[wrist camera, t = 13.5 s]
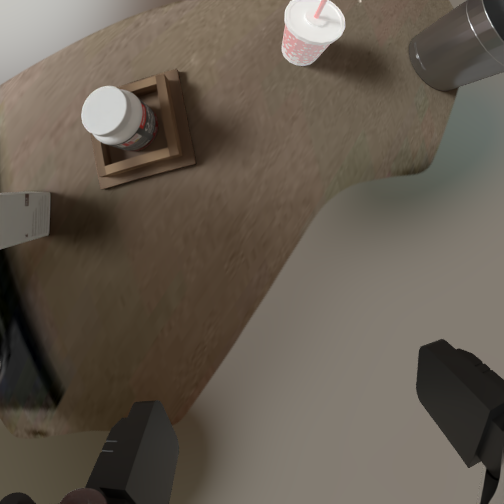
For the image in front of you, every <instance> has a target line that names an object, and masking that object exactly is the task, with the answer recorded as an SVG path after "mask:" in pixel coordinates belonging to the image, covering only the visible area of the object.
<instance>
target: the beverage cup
mask: <svg viewBox="0 0 504 504" xmlns="http://www.w3.org/2000/svg"><path fill="white" fill-rule="evenodd" d="M344 29H345V18H344V16H343V14H342V12H341V10H340V9H339V8H338V7H337V6H336V5H335V4H333V3H332V2H331V1H329V0H292V1H290V3H289V4H288V6H287V8H286V9H285V29H284V35H283V42H282V53H283V55H284V57H285V58H286V59H287V60H288V61H289V62H290V63H293V64H295V65H299V66H306V65H310V64H311V63H313V62H314V61H315V60H316V59H317V58H318V57H319V56H320V55H321V54H322V53H323V52H324V50H325V49H326V48H327V47H328V46H329V45H330V44H331V43H333V42H334V41H336V40H337V39H338V38H339V37H340V36H341V35H342V33H343V31H344Z"/></svg>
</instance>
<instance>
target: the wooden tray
mask: <svg viewBox="0 0 504 504" xmlns="http://www.w3.org/2000/svg"><path fill="white" fill-rule="evenodd" d="M116 88H118V89H122V90H127V91H129V92H131V93H133V94H135V95H136V96H137V97H138V98H139V99H140V100H142V101H143V102H144V103H145V104H146V105H148V106H149V107H150V108H151V109H152V110H153V111H154V112H155V114H156V116H157V119H158V131H157V134H156V137H155V138H154V140H153V141H152V142H151V144H149V145H148V146H147V147H146V148H144V149H142V150H139V151H126V150H123V149H120V148H117V147H113V146H110V145H107V144H104V143H102V142H100V141H98V140H97V139H96V138H95V137H94V135H93V134H92V133H91V139H92V145H93V152H94V157H95V163H96V168H97V174H98V179H99V184H100V189H101V190H103V189H107V188H110V187H113V186H117V185H120V184H123V183H127V182H130V181H134V180H137V179H141V178H144V177H148V176H152V175H155V174H159V173H163V172H167V171H171V170H174V169H178V168H182V167H187V166H191V165H195V164H196V160H195V155H194V150H193V145H192V140H191V135H190V130H189V125H188V120H187V115H186V110H185V104H184V99H183V94H182V89H181V83H180V78H179V72H178V70H177V69H174V70H171V71H167V72H163V73H160V74H156V75H153V76H150V77H146V78H143V79H140V80H137V81H134V82H131V83H128V84H125V85H122V86H119V87H116Z"/></svg>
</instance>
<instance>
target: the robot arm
mask: <svg viewBox="0 0 504 504" xmlns="http://www.w3.org/2000/svg"><path fill="white" fill-rule="evenodd" d="M409 55H410V59H411V62H412V65H413V67H414V69H415V70H416V72H417V73H418V75H419V76H420V77H421V78H422V79H423V80H424V81H425V82H426V83H427V84H428V85H430V86H431V87H433V88H435V89H437V90H441V91H449V90H452V89H455V88H458V87H460V86H463V85H466V84H469V83H472V82H475V81H478V80H481V79H484V78H487V77H489V76H493V75H496V74H499V73H502V72H504V0H466V1H465V2H463V3H462V4H460V5H459V6H457V7H456V8H454V9H453V10H451V11H450V12H449V13H447V14H446V15H444V16H443V17H441V18H440V19H439V20H437V21H436V22H434V23H433V24H432V25H430V26H429V27H427V28H426V29H424V30H423V31H422V32H420V33H419V34H418V35H416V36H415V37H414V38H413V39H412V41H411V42H410V46H409ZM416 390H417V395H418V398H419V400H420V402H421V403H422V405H423V406H424V407H425V409H426V410H427V412H428V413H429V414H430V416H431V417H432V418H433V420H434V421H435V422H436V424H437V425H438V426H439V428H440V429H441V431H442V432H443V433H444V434H445V436H446V437H447V439H448V440H449V441H450V443H451V444H452V446H453V447H454V448H455V450H456V451H457V452H458V454H459V455H460V456H461V458H462V459H463V461H464V462H465V464H466V465H467V467H468V468H470V467H472V466H474V465H475V464H477V463H479V462H481V461H482V463H483V464H484V465H485V467H484V469H483V471H482V477H481V482H480V488H479V494H478V498H477V503H476V504H504V380H503V379H502V378H501V377H500V376H498V375H497V374H496V373H495V372H494V371H493V370H490V368H489V367H488V366H487V365H486V364H483V363H482V361H481V360H480V359H478V358H477V357H476V356H475V355H474V354H472V353H469V352H467V351H464V350H462V349H455V348H453V347H452V346H451V345H450V344H449V343H448V342H447V341H445V340H443V339H440V340H438V341H435V342H432V343H429V344H427V345H424V346H422V347H421V348H420V350H419V358H418V371H417V382H416ZM106 441H107V442H106V443H105V444H104V446H103V448H102V452H101V453H100V455H99V457H98V459H97V462H96V464H95V466H94V468H93V471H92V473H91V475H90V477H89V480H88V482H87V484H86V487H85V488H79V489H76V490H73V491H71V492H69V493H68V494H67V495H65V496H64V498H63V499H62V500H61V502H60V504H169V501H170V495H171V490H172V485H173V479H174V474H175V469H176V463H177V459H178V454H179V445H178V439H177V436H176V434H175V431H174V429H173V428H172V425H171V423H170V421H169V419H168V416H167V414H166V412H165V410H164V407H163V405H162V404H161V402H160V401H158V400H157V401H142V402H135V403H134V404H133V406H132V408H131V410H130V413H129V415H128V417H127V418H122V419H121V420H120V421H119V422H118V423H117V424H116V425H115V426H114V427H113V428H112V429H111V431H110V433H109V435H108V437H107V440H106ZM0 504H36V503H35V502H34V501H33V500H32V499H31V498H30V497H29V496H28V495H26V494H23V493H12V494H9V495H7V496H6V497H4V498H3V499H2V500H1V501H0Z"/></svg>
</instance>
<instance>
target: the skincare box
mask: <svg viewBox="0 0 504 504" xmlns="http://www.w3.org/2000/svg"><path fill="white" fill-rule="evenodd" d="M49 225H50V192H35V191H23V192H8V193H0V249H3V248H7V247H10V246H14V245H17V244H20V243H24V242H27V241H30V240H34V239H37V238H41V237H44V236H48V235H49Z"/></svg>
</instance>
